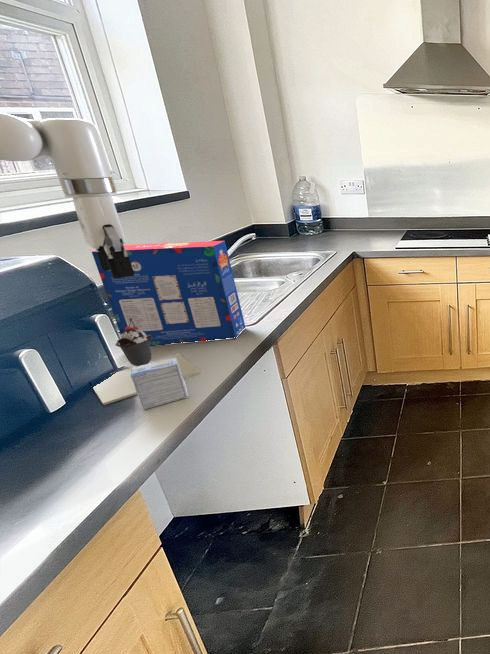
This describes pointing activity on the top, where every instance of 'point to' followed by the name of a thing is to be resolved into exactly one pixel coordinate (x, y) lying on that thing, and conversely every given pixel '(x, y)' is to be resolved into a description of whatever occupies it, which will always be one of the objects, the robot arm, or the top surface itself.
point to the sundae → (135, 345)
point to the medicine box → (159, 383)
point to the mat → (124, 387)
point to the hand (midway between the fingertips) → (118, 273)
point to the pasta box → (176, 292)
